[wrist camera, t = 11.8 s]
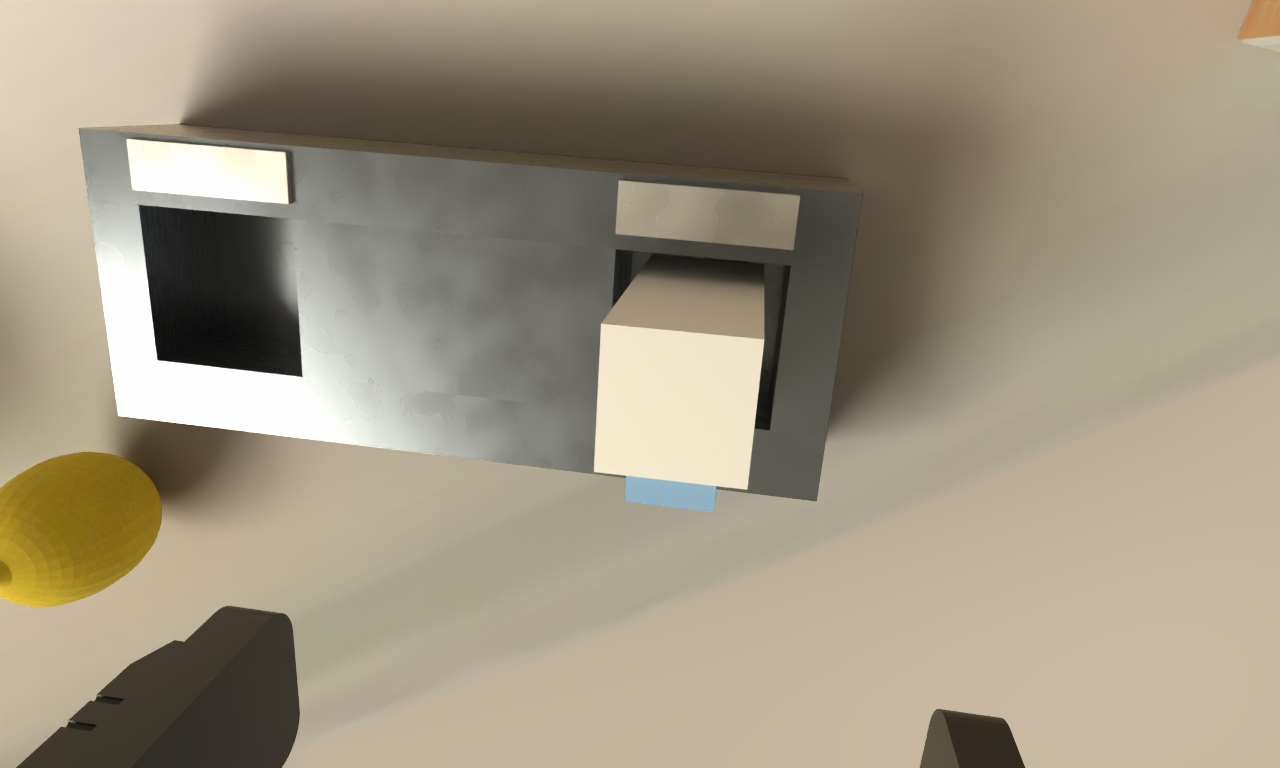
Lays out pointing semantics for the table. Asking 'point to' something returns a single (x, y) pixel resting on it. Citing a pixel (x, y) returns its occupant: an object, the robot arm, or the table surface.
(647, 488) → the plug
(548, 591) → the table surface
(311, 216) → the panel
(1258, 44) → the small box
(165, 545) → the table surface
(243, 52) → the table surface
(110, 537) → the lemon
